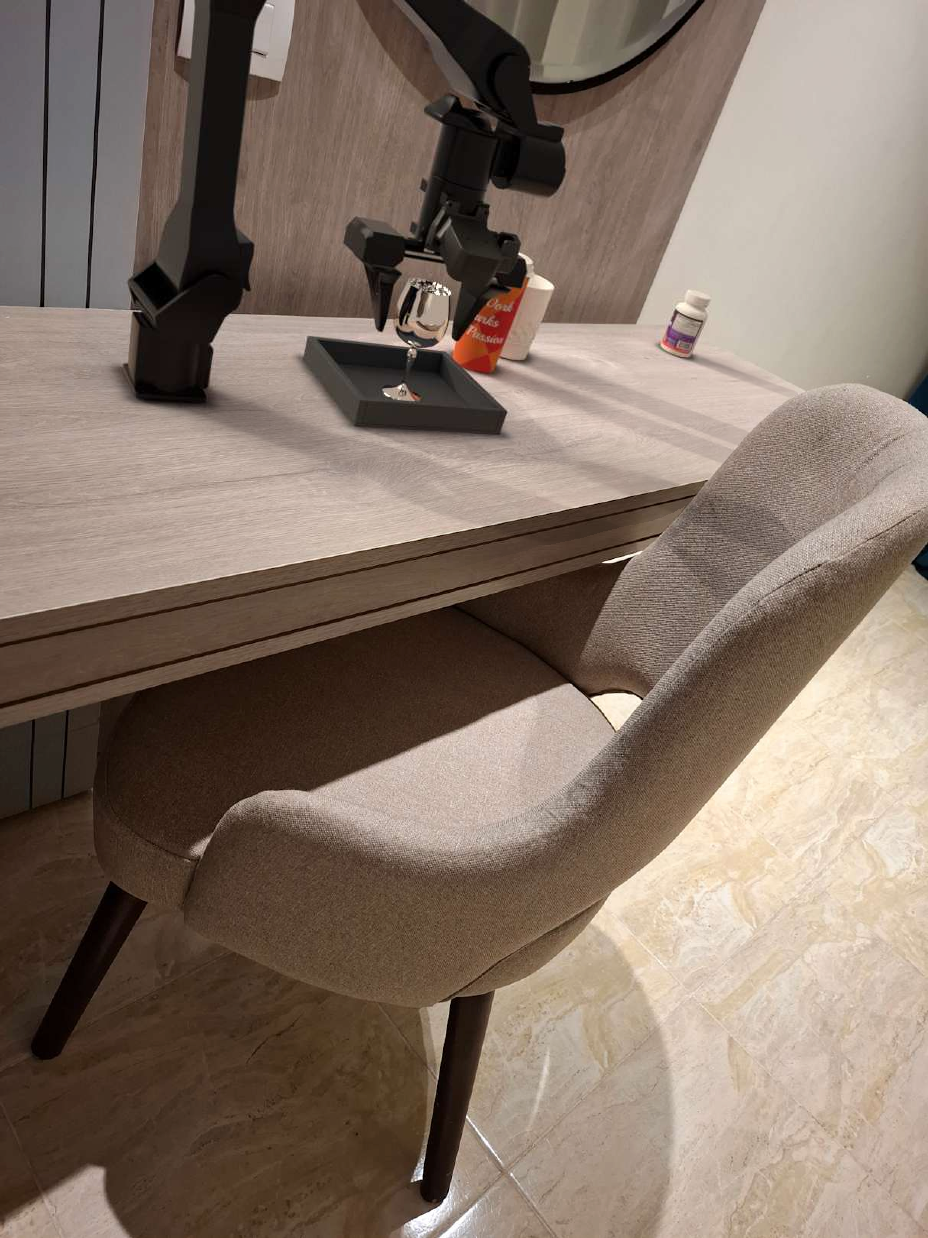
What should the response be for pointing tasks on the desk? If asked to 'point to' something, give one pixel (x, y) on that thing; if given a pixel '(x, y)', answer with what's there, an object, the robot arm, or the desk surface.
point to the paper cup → (490, 329)
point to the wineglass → (419, 325)
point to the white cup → (527, 318)
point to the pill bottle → (686, 324)
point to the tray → (370, 366)
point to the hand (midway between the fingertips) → (417, 335)
